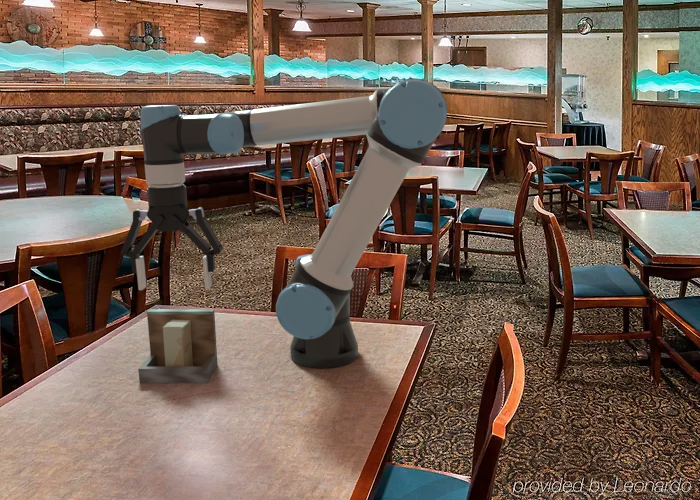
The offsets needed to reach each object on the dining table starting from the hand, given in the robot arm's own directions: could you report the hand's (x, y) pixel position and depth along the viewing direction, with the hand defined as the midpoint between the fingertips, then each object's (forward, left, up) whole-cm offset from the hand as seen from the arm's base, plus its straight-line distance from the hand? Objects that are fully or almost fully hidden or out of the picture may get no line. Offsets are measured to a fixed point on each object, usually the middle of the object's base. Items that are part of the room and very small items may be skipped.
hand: (175, 287), depth 140 cm
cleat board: (0, 0, -19) cm, 19 cm away
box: (0, 0, -19) cm, 19 cm away
